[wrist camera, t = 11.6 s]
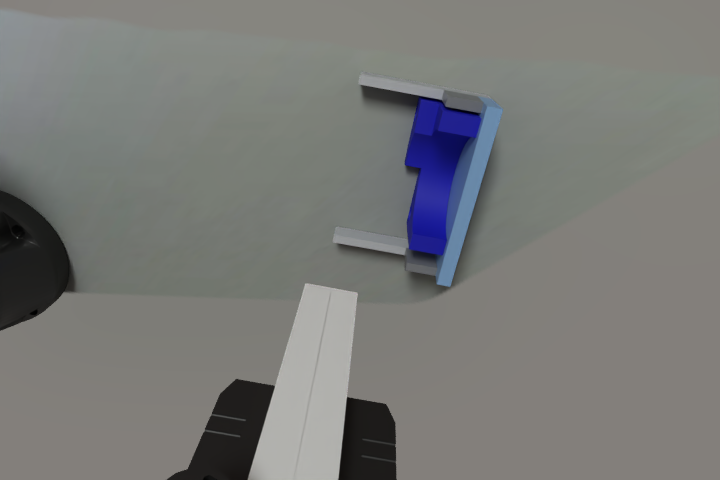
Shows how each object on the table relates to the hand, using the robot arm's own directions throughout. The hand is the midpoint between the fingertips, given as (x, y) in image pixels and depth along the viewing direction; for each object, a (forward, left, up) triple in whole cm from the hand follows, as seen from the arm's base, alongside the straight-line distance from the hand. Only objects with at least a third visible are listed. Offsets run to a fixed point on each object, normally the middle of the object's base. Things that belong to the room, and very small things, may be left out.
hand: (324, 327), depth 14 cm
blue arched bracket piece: (+6, -4, -32) cm, 33 cm away
